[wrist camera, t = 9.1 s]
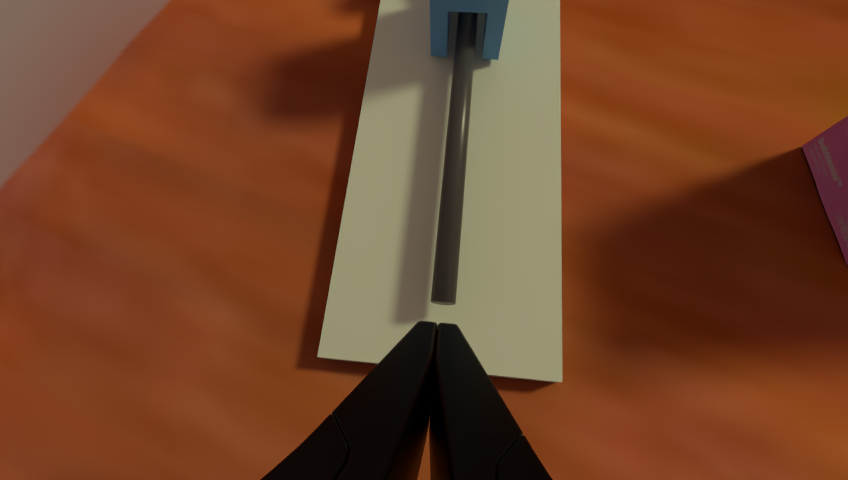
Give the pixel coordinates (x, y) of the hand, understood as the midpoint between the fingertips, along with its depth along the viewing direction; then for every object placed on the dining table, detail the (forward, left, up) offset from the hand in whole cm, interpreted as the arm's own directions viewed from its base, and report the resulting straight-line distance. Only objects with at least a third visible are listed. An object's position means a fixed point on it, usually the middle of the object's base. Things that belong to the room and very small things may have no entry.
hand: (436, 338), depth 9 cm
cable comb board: (+5, -14, -13) cm, 20 cm away
